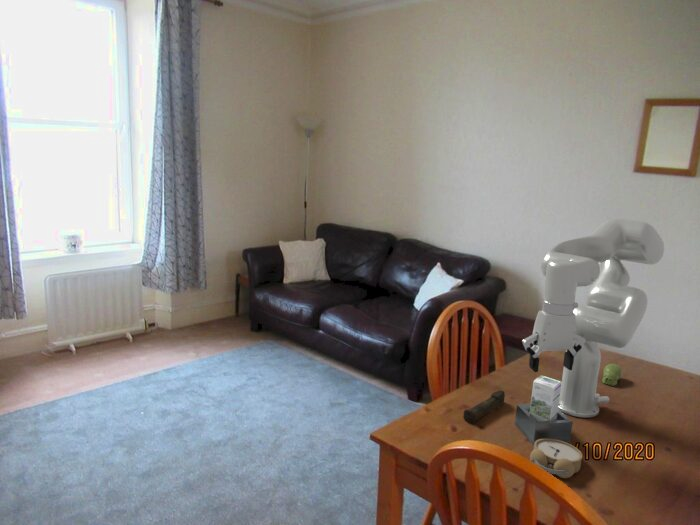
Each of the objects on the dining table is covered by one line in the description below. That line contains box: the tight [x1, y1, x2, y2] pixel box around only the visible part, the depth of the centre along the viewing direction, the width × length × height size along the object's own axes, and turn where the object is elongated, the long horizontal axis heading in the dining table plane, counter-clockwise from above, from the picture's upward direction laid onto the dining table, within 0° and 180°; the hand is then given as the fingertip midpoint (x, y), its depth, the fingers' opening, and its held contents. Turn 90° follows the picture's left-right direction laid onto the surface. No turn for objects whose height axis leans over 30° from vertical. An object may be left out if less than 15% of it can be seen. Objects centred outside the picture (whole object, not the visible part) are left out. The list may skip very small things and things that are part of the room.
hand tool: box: [462, 389, 506, 425], centre depth 151 cm, size 19×4×5 cm, turn 131°
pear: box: [601, 363, 623, 387], centre depth 175 cm, size 6×5×10 cm
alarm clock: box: [529, 438, 583, 479], centre depth 127 cm, size 11×5×15 cm
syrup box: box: [530, 374, 562, 421], centre depth 139 cm, size 6×6×14 cm
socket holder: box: [514, 403, 574, 446], centre depth 140 cm, size 10×10×6 cm
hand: (550, 369), depth 137 cm, fingers open, 9 cm apart
